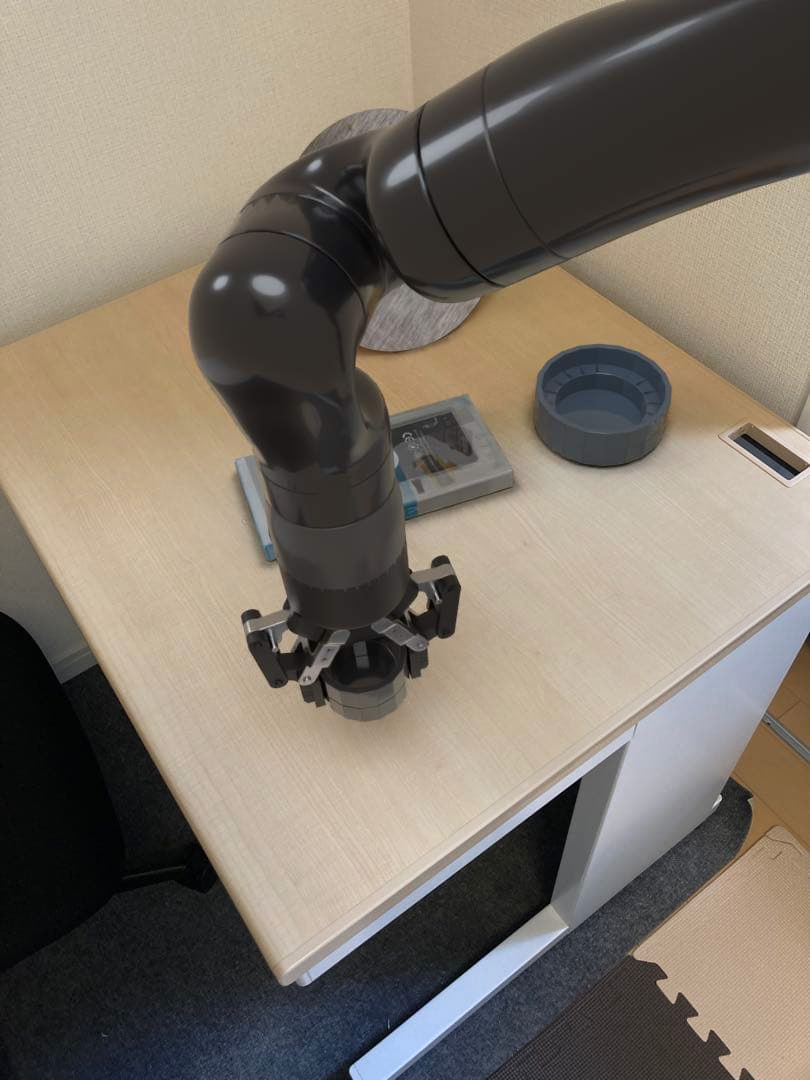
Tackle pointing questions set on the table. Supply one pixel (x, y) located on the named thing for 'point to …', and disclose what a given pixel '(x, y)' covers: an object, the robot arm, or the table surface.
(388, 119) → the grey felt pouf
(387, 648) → the black cup
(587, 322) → the table surface
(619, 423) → the grey bowl
